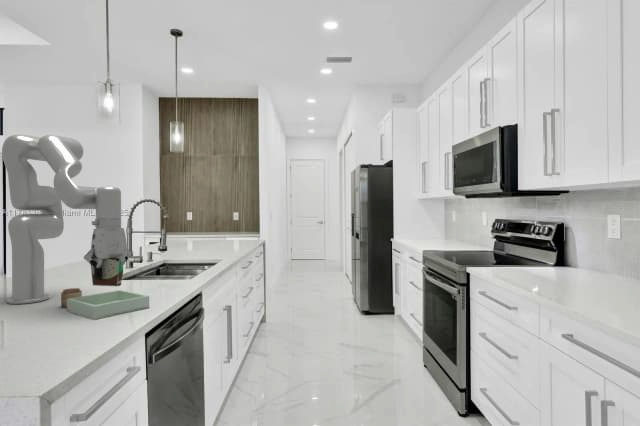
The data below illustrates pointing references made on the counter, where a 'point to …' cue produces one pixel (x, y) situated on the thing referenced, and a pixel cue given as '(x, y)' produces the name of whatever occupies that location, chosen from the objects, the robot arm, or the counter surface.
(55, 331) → the counter surface
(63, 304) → the salt cellar
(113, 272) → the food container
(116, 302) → the bin
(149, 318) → the counter surface
